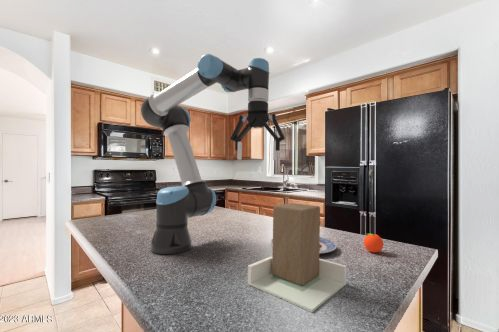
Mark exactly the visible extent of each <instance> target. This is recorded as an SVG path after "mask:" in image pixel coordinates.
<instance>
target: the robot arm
mask: <svg viewBox="0 0 499 332" xmlns="http://www.w3.org/2000/svg"><path fill="white" fill-rule="evenodd" d="M269 69H270V65H269V61H268V60H266V59H265V58H261V57H255V58H252V59H250V60H249V62H248V67H245V68H242V69H237V68H235V67H233V66H232V65H230V64H228V63H227V62H225V61H224V60H222V59H220V57H217V56H215V55H212V54H211V53H206V54H203V55H202V56H201V57H200V59H199V60H198V63H197V68H195V69H194V70H192V71H191V72H188V73H187V74H186V75H185V76H183V77H181V78H179V79H178V80H177V81H175V82H173V83H172V84H171V85H169V86H168V87H167V86H166V88H164V89H163V90H161V91H160V92H158V93H151V94H150V95H149V96H147V97H146V98H145V99H144V100H143V102H142V104H141V108H140V113H141V117H142V119H143V120H144V122H146V123H147V124H148V125H149V126H151V127H154V128H159V129H162V133H163V136H165V137H166V138H168V141H169V144H170V148H171V151H172V155H173V157H174V161H175V165H176V168H177V171H178V174H179V175H178V176H179V178H180V183H181V185H177V186H169V187H164V188H161V189H159V190H158V192H157V194H156V200H155V203H156V215H155V218H156V219H155V220H156V221H155V231H154V234H153V237H152V239H151V242H150V251H151V252H152V253H154V254H159V255H174V254H180V253H185V252H187V251H189V250H190V249H192V246H193V245H192V243H193V242H192V238H191V235H190V232H189V228H188V221H189V218H194V217H199V216H201V217H202V216H204V215H207V214H210V213H212V212H213V210H214V209H215V206H216V204H217V195H216V193H215V191H214V189H212V188H210V187H208V184H207V181H205V180H204V179H202V177H201V173H200V170H199V168H198V167H199V166H198V163H197V161H196V158H195V154H194V152H193V148H192V145H191V142H190V138H189V135H188V132H189V130H190V129H189V128H190V126H191V116H190V113H189V111H188V110H187V109H186V108H184V107H182V106H180V105H181V104H183V102H185V101H187V100H189V99H191V98H192V97H194V96H196V95H197V94H199V93H200V92H202V91H204V90H206V89H207V88H209V87H211V86H212V85H215V84H219V85H220V86H221V88H222V89H223V91H224V92H226V93H235V92H236V93H237V92H240V91H243V90H248V91H247V92H248V94H247V95H248V97H247V101H248V103H247V116H243V115H242V114H241V115H239V118H238V122H237V124H236V126H235V129H234V130H233V133H232V134H231V135H230V140H231V141H233V142H234V143H235V144H234V145H235V147H234V149H235V151H237V156H236V158H237V160H239V161H240V160H241V161H242V160H243V158H242V157H243V156H242V155H243V154H242V152H243V142H242V140H243V138H244V137H245V136H246V135H247V133H249V131H251V130H252V128H253V129H258V128H259V129H261V128H265V130H266V131H268V133H269V134H270V135H271V136H272V138H273V139H274V140H275V141H273V147H272V148H273V150H272V151H273V153H272V155H273V156H272V157H273V158H272V160H273V161H277V160H278V159H277V158H278V151H280V149H281V142H282V141H285V140H286V137H285V135H284V133H283V131H282V129H281V127H280V125H279V122H278V118H277V115H276V114H275V113H273V114H271V115H270V114H269V94H270V93H269V92H270V91H269V83H270V82H269V81H270V70H269ZM269 120H270V121H271V122H272V123H273V125H274V127H275V129H276V131H277V133H278V135H277V134H276V133H275V131H274V130H273V129H272V128H271V126H270V125H269V124H268V122H269ZM246 121H247V123H246V125H245V127H244V128H243V125H244V124H245V122H246ZM242 128H243V129H242ZM241 129H242V130H241ZM278 136H279V137H278Z"/></svg>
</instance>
